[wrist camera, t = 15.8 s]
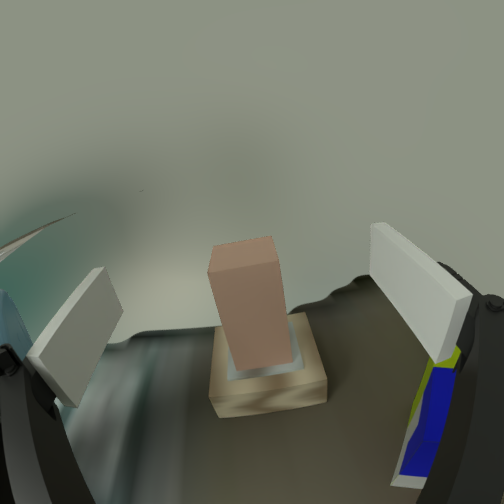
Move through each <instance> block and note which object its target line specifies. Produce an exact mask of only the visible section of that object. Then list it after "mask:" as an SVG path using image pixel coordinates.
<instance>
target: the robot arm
mask: <svg viewBox="0 0 504 504" xmlns="http://www.w3.org/2000/svg"><path fill="white" fill-rule="evenodd" d="M370 243H371V244H370V272H369V275H370V276H371V277H372V278H373V280H374V281H375V282H376V283H377V285H378V286H379V287H380V288H381V290H382V291H383V292H384V294H385V295H386V296H387V298H388V299H389V300H390V301H391V303H392V304H393V305H394V307H395V308H396V309H397V311H398V312H399V313H400V315H401V316H402V317H403V319H404V320H405V322H406V323H407V324H408V326H409V327H410V328H411V330H412V331H413V333H414V334H415V335H416V337H417V338H418V340H419V341H420V342H421V344H422V345H423V347H424V348H425V350H426V351H427V353H428V354H429V356H430V357H431V358H432V360H433V361H434V363H435V364H437V363H439V362H442V361H444V360H446V359H449V358H451V356H452V354H453V351H454V349H455V346H456V345H457V347H458V348H459V349H460V351H461V353H460V355H459V357H458V360H457V362H456V364H455V366H454V368H453V371H452V373H455V371H456V376H455V382H454V387H453V392H452V397H451V402H450V406H449V410H448V415H447V419H446V422H445V426H444V430H443V433H442V437H441V440H440V443H439V446H438V449H437V452H436V455H435V458H434V461H433V464H432V467H431V469H430V472H429V475H428V477H427V480H426V482H425V484H424V487H423V489H422V491H421V494H420V496H419V498H418V500H417V502H416V504H500V503H501V499H502V496H503V492H504V299H503V298H501V297H499V296H496V295H490V294H487V295H484V296H483V295H481V294H480V293H479V292H478V291H477V290H476V289H475V288H474V287H473V286H471V285H470V284H469V283H468V282H467V281H466V280H464V279H463V278H462V277H461V276H460V275H459V274H457V273H456V272H455V271H454V270H453V269H452V268H450V267H449V266H447V265H445V264H443V263H441V262H435V261H434V260H433V259H432V258H431V257H429V256H428V255H427V254H426V253H424V252H423V251H422V250H420V249H419V248H418V247H417V246H416V245H414V244H413V243H412V242H411V241H409V240H408V239H407V238H405V237H404V236H403V235H401V234H400V233H399V232H397V231H396V230H395V229H393V228H392V227H391V226H389V225H388V224H387V223H385V222H380V223H373V224H371V242H370ZM122 313H123V309H122V307H121V304H120V302H119V300H118V298H117V295H116V293H115V290H114V288H113V285H112V283H111V281H110V278H109V275H108V273H107V270H106V268H105V267H100V268H94V269H93V270H92V271H91V272H90V273H89V274H88V275H87V277H86V278H85V279H84V280H83V282H81V284H80V285H79V286H78V287H77V288H76V290H75V291H74V292H73V293H72V294H71V296H70V297H69V298H68V300H67V301H66V302H65V303H64V304H63V306H62V307H61V308H60V310H59V311H58V312H57V313H56V315H55V316H54V317H53V319H52V320H51V321H50V323H49V324H48V325H47V327H46V328H45V330H44V331H43V332H42V333H41V335H40V336H39V338H38V339H37V340H36V342H35V343H34V345H33V343H32V341H31V339H30V336H29V334H28V331H27V329H26V327H25V325H24V322H23V320H22V318H21V316H20V314H19V311H18V309H17V308H16V305H15V303H14V302H13V300H12V299H11V297H9V295H8V293H7V292H6V291H5V290H3V289H0V504H96V503H95V501H94V499H93V497H92V495H91V493H90V491H89V489H88V487H87V485H86V483H85V481H84V478H83V476H82V474H81V472H80V469H79V467H78V464H77V462H76V460H75V457H74V454H73V452H72V449H71V446H70V444H69V441H68V438H67V435H66V432H65V429H64V426H63V423H62V420H61V416H60V413H59V409H58V407H57V405H56V404H55V402H54V400H55V398H56V397H57V398H58V399H59V400H60V401H61V403H62V404H63V405H64V406H68V407H74V408H78V406H79V404H80V402H81V399H82V397H83V394H84V392H85V390H86V388H87V385H88V383H89V381H90V379H91V376H92V374H93V372H94V370H95V368H96V365H97V363H98V361H99V359H100V357H101V355H102V353H103V351H104V349H105V347H106V345H107V343H108V340H109V339H110V337H111V334H112V332H113V331H114V329H115V327H116V325H117V323H118V321H119V319H120V317H121V315H122ZM456 369H457V370H456Z"/></svg>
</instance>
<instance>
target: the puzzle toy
mask: <svg viewBox="0 0 504 504" xmlns="http://www.w3.org/2000/svg"><path fill="white" fill-rule="evenodd" d="M460 353H461V351H460V349H459V348H458V347H457V345H456V346H455V349H454V351H453V354H452V356H451V358H449V359H446V360H444V361H442V362H439V363H437V364H435V363H434V361H433V360H432V358H431V357H429V360H428V363H427V366H426V369H425V372H424V375H423V378H422V381H421V383H420V386H419V389H418V391H417V394H416V397H415V399H414V402H413V404H412V409H411V413H410V418H409V422H408V427H407V431H406V435H405V439H404V442H403V446H402V450H401V453H400V457H399V460H398V463H397V466H396V469H395V472H394V475H393V478H392V481H391V484H390V486H398V487H407V488H419V489H423V487H424V484H425V482H426V480H427V477H428V475H429V472H430V469H431V467H432V464H433V461H434V458H435V455H436V452H437V449H438V446H439V443H440V440H441V437H442V433H443V430H444V426H445V422H446V419H447V415H448V410H449V406H450V402H451V397H452V392H453V387H454V382H455V376H456V371H455V373H452V371H453V368H454V366H455V364H456V362H457V360H458V357H459V355H460ZM456 370H457V369H456Z"/></svg>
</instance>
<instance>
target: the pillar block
mask: <svg viewBox="0 0 504 504" xmlns="http://www.w3.org/2000/svg"><path fill="white" fill-rule="evenodd" d="M207 273H208V277H209V280H210V284H211V288H212V292H213V295H214V299H215V302H216V306H217V309H218V312H219V315H220V319H221V323H222V326H223V329H224V333H225V336H226V339H227V342H228V346H229V349H230V352H231V355H232V358H233V361H234V365H235V368H236V371H242V370H249V369H256V368H263V367H269V366H275V365H281V364H287V363H292V362H293V359H292V351H291V343H290V335H289V328H288V320H287V313H286V306H285V298H284V291H283V285H282V278H281V271H280V264H279V259H278V255H277V252H276V249H275V246H274V242H273V239H272V236H266V237H261V238H256V239H250V240H244V241H239V242H233V243H228V244H222V245H217V246H213V250H212V254H211V259H210V263H209V268H208V272H207Z"/></svg>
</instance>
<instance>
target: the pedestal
mask: <svg viewBox="0 0 504 504" xmlns="http://www.w3.org/2000/svg"><path fill="white" fill-rule="evenodd" d="M287 320H288V328H289V335H290V343H291V351H292V359H293V362H292V363H287V364H281V365H275V366H269V367H263V368H256V369H249V370H242V371H236V368H235V365H234V361H233V358H232V355H231V352H230V349H229V346H228V342H227V339H226V336H225V333H224V329H223V326H218V327H215V335H214V345H213V355H212V365H211V375H210V386H209V399H210V401H211V403H212V405H213V407H214V409H215V411H216V413H217V415H218V417H219V418H228V417H239V416H248V415H256V414H264V413H271V412H278V411H284V410H290V409H295V408H301V407H306V406H311V405H315V404H320V403H324V402H327V377H326V373H325V370H324V367H323V364H322V361H321V358H320V355H319V352H318V349H317V346H316V343H315V340H314V337H313V334H312V331H311V328H310V325H309V322H308V319H307V316H306V313H305V312H302V313H297V314H291V315H287Z"/></svg>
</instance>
